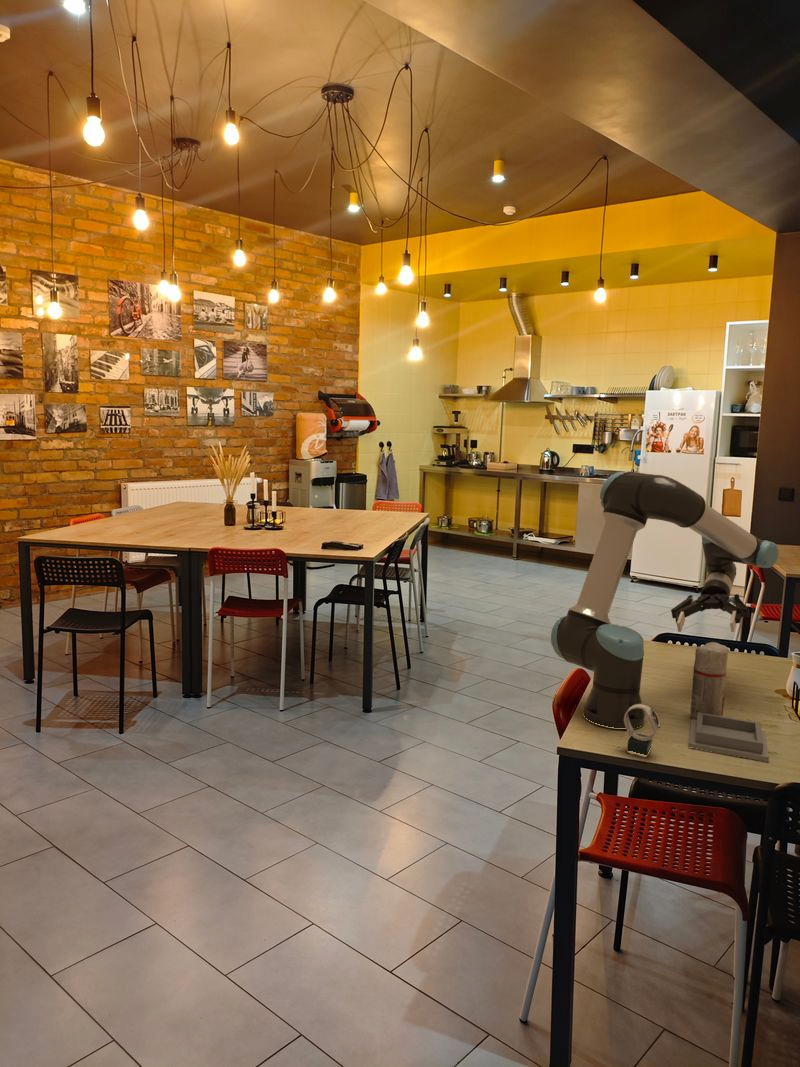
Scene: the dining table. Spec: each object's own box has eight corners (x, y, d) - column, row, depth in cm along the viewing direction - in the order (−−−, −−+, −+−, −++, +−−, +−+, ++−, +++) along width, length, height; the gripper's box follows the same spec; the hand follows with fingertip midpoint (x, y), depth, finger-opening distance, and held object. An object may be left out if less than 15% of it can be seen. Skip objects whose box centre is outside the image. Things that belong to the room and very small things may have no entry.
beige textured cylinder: (717, 727, 198) (725, 650, 195) (684, 719, 203) (692, 644, 200) (726, 718, 204) (734, 644, 201) (694, 710, 209) (702, 637, 206)
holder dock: (688, 748, 184) (690, 733, 183) (691, 723, 200) (692, 709, 199) (768, 762, 178) (770, 746, 177) (764, 735, 193) (765, 721, 193)
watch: (655, 760, 177) (659, 713, 175) (619, 751, 180) (623, 706, 179) (659, 751, 182) (664, 705, 180) (624, 743, 185) (628, 698, 184)
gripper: (765, 601, 221) (757, 639, 205) (674, 602, 235) (659, 639, 218) (761, 577, 219) (753, 614, 202) (670, 580, 232) (655, 615, 216)
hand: (704, 627), depth 210 cm, fingers open, 13 cm apart
